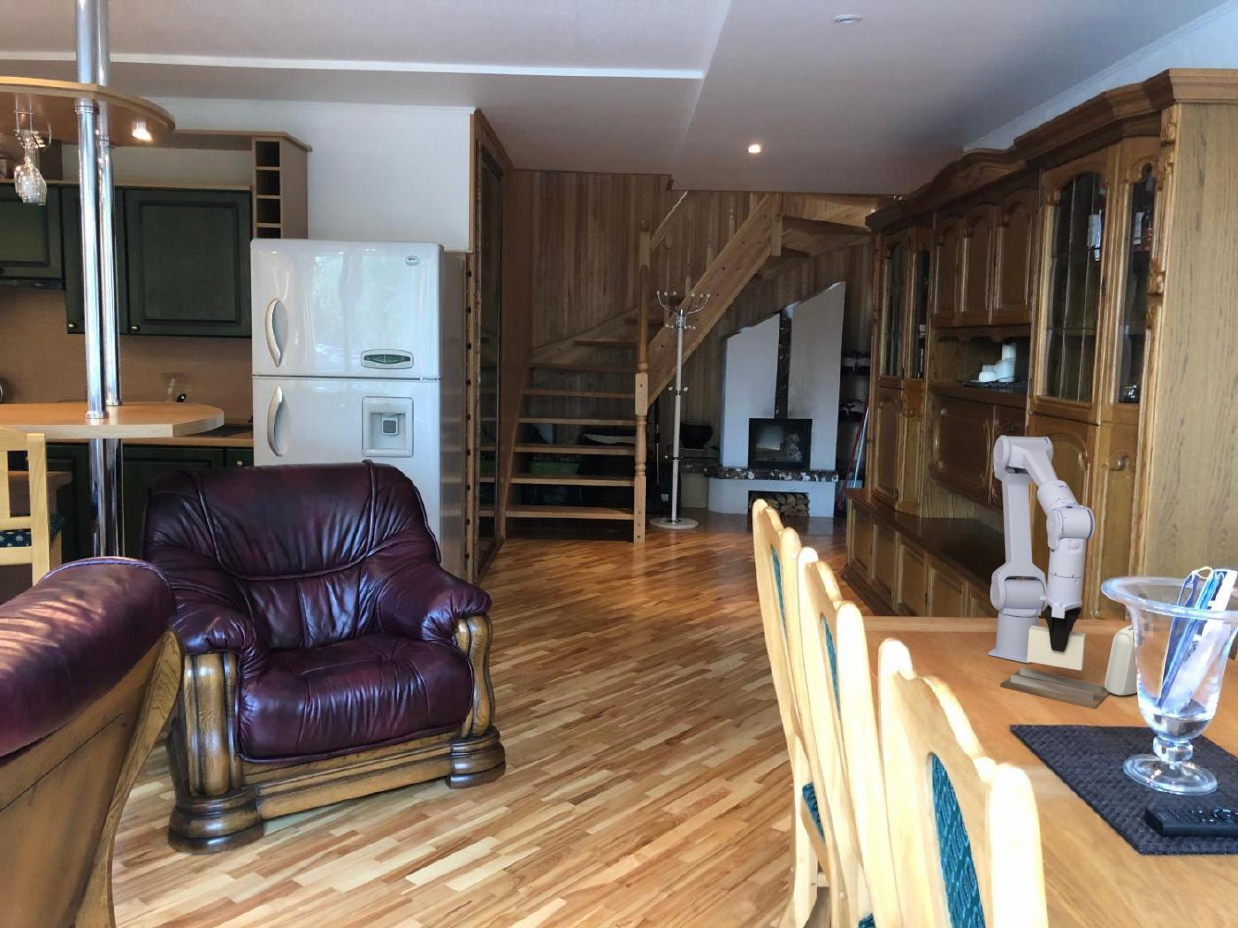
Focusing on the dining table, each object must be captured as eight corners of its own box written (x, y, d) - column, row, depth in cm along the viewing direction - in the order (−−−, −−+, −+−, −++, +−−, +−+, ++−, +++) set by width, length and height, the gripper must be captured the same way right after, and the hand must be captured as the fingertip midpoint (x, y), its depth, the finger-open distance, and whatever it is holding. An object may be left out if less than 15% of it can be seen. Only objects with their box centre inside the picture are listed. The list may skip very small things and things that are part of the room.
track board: (1020, 670, 186) (1021, 662, 186) (1112, 691, 176) (1112, 682, 176) (999, 686, 177) (1000, 677, 177) (1094, 708, 167) (1095, 699, 167)
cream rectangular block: (1029, 657, 180) (1031, 625, 179) (1083, 665, 175) (1085, 633, 175) (1026, 661, 177) (1029, 629, 177) (1081, 670, 173) (1083, 637, 172)
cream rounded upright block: (1130, 681, 181) (1142, 617, 179) (1153, 690, 178) (1166, 625, 176) (1099, 689, 176) (1111, 623, 173) (1122, 698, 172) (1135, 631, 170)
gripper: (1046, 564, 182) (1041, 634, 184) (1035, 578, 170) (1029, 654, 172) (1088, 569, 179) (1082, 641, 180) (1080, 584, 166) (1073, 661, 168)
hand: (1059, 648), depth 176 cm, fingers closed on cream rectangular block, 3 cm apart
